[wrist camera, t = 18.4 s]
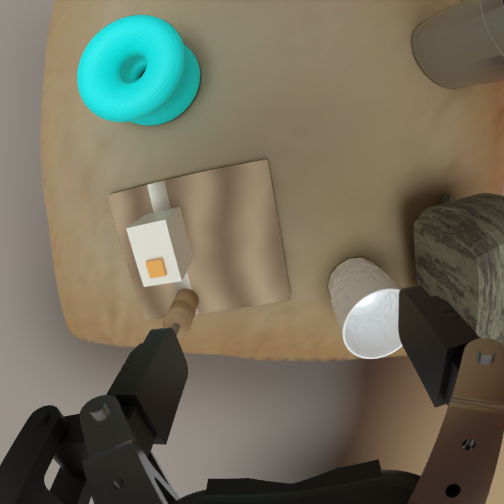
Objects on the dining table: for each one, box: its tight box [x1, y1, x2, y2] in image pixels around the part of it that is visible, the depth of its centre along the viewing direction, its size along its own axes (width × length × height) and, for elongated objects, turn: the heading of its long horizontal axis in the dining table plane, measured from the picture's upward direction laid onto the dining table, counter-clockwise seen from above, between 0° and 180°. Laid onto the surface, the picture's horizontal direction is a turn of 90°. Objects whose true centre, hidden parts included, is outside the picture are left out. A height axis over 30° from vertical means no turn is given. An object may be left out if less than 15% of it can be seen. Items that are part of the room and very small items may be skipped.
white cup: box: [328, 258, 403, 359], centre depth 33 cm, size 8×8×10 cm
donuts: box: [77, 15, 200, 126], centre depth 25 cm, size 10×10×10 cm
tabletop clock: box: [414, 193, 504, 345], centre depth 24 cm, size 14×9×25 cm, turn 16°
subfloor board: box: [108, 159, 291, 320], centre depth 35 cm, size 18×16×1 cm
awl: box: [163, 289, 199, 338], centre depth 33 cm, size 3×3×9 cm
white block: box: [126, 207, 193, 287], centre depth 31 cm, size 4×6×7 cm, turn 11°
